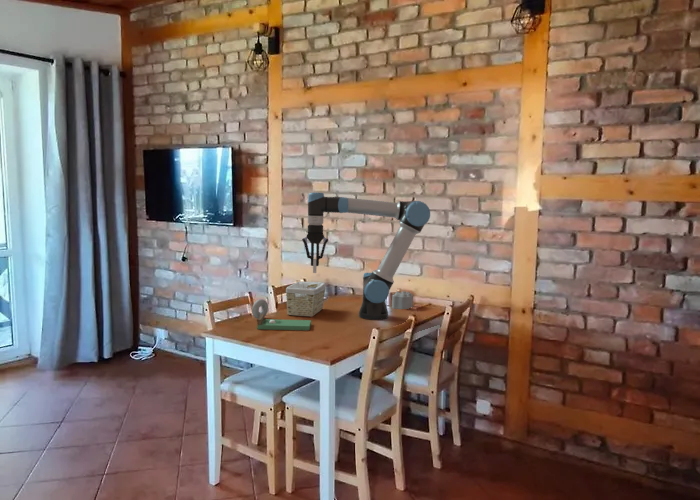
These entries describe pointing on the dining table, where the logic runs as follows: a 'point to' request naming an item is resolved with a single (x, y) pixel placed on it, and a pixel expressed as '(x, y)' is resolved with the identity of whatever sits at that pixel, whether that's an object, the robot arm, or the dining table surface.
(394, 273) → the robot arm
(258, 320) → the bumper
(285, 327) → the mat
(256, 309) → the donut
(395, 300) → the lumpy-topped squat cylinder
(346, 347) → the dining table surface
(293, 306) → the storage basket
